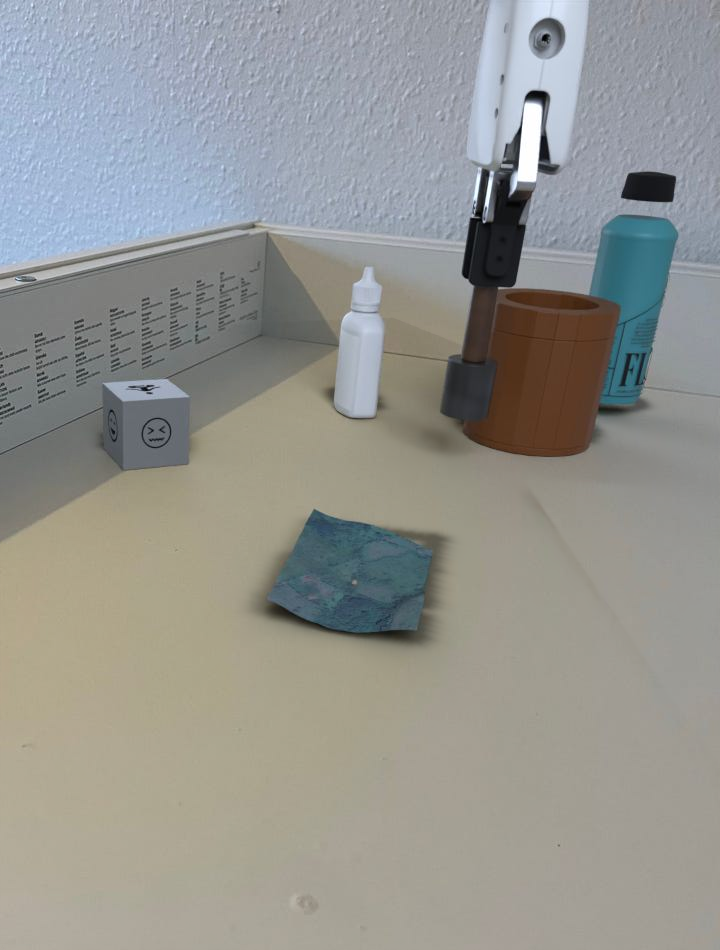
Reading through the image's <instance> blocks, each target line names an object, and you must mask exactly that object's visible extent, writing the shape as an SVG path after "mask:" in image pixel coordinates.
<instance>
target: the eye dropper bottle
mask: <svg viewBox="0 0 720 950" xmlns="http://www.w3.org/2000/svg"><path fill="white" fill-rule="evenodd" d="M382 292H383V286H382V284H380V283H378V282H377V281H376V278H375V268H374V267H373V266H365V267H364V270H363V273H362V277H361V279H360V280H359V281H356V282H354V283H353V284H352V291H351V301H350V309H351V310H350V311H349V312H347V313H346V314H345V315H344V316H343V317H342V320H341V325H340V332H339V343H338V352H337V365H336V372H335V385H334V396H333V406H334V409H335V410H336V411H337V412H339V413H340V414H341V415H343V416H345V417H347V418H350V419H373V418H375V417H376V415H377V410H378V404H379V403H378V402H379V392H380V385H381V378H382V376H381V375H382V368H383V367H382V366H383V361H384V359H383V358H384V352H385V351H384V350H385V349H384V348H385V342H386V341H385V340H386V325H385V321H384V320H383V318H382V316H381V315H380V313H379V311H380V310H381V300H382Z"/></svg>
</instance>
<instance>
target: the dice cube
mask: <svg viewBox="0 0 720 950" xmlns="http://www.w3.org/2000/svg"><path fill="white" fill-rule="evenodd" d="M101 387H102V388H101V389H102V435H103V436H102V437H103V439H102V440H103V441H102V442H103V450H104V451H105V452H106V453H107V454H108V455H109V457H110V458H111V459H112V460H113V461H114V462H116V464H117V465H118V466H119V467H120V468H121V469H122V471H130V470H140V469H150V468H160V467H171V466H181V465H189V463H190V462H189V459H190V458H189V457H190V455H189V454H190V421H191V420H190V418H191V417H190V413H191V396H189V395H188V394H187V393H186V392H184V391H183V390H182V389H180V388H179V387H178V386H177V385H176V384H174V383H173V382H172V381H170V380H169V379H167V378H163V379H162V378H160V379H159V378H158V379H144V380H143V379H141V380H127V381H125V380H124V381H112V382H101Z"/></svg>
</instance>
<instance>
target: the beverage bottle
mask: <svg viewBox="0 0 720 950" xmlns="http://www.w3.org/2000/svg"><path fill="white" fill-rule="evenodd" d="M676 184H677V176H676V175H673V174H669V173H664V172H659V171H649V170H648V171H647V170H646V171H636V172H633V171H632V172H628V173H627V175H626V179H625V181H624V186H623V188H622V191H621V196H620V198H621V199H624V200H627V201H628V200H629V201H637V202H649V203H673V202H674V198H675V191H676V190H675V189H676ZM678 239H679V231H678V230H677V228H676V227H675V225H674V224H673V222H672V221H671V220H670V219H669V218H666V217H660V216H652V215H643V214H642V215H641V214H617V215H616V216H614V217H613V218H612V219H610V220H609V221H608V222H607V223H605V224H604V225H603V226H602V227H601V230H600V239H599V243H598V248H597V253H596V257H595V263H594V268H593V272H592V276H591V277H592V278H591V283H590V287H589V291H588V295H590V296H594V297H599V298H603V299H606V300H609V301H612V302H615V303H616V304H618V305H620V306H621V312H620V316H619V320H618V325H617V329H616V333H615V338H614V342H613V347H612V351H611V355H610V360H609V364H608V369H607V373H606V377H605V382H604V386H603V390H602V395H601V399H600V404H603V405H617V406H624V405H625V406H626V405H632V404H635V403H637V402H638V400H639V398H640V396H641V395H642V394H643V392H642V391H644V386H645V382H646V381H647V377H648V373H649V368H650V364H651V360H652V359H650V358H652V356H653V354H652V353H653V351H654V350H653V349H654V348H653V344H654V342H655V341H656V339H655V338H656V335H657V332H656V331H657V330H658V327H659V325H658V324H659V322H660V321H659V320H660V314H661V310H662V308H663V306H664V301H665V298H666V296H665V295H666V293H667V288H668V283H669V282H670V278H671V276H670V270H671V265H672V262H673V258H674V253H675V248H676V244H677V241H678Z"/></svg>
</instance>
